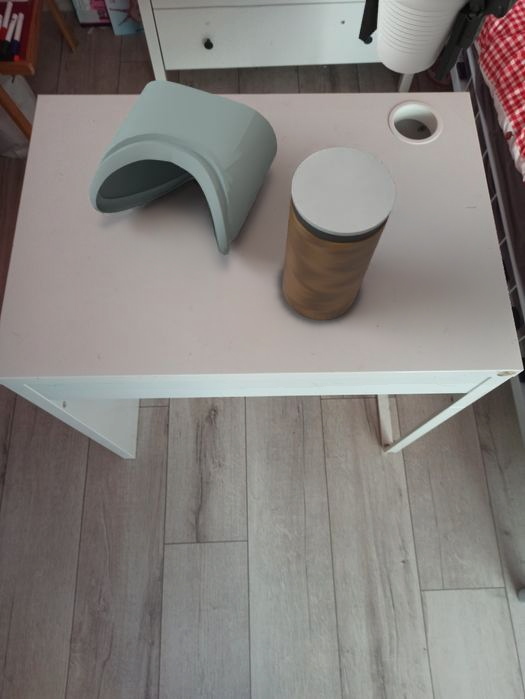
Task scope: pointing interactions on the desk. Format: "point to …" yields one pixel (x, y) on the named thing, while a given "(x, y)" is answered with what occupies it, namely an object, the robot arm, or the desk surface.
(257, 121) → the sage-green arched shell
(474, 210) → the desk surface
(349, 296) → the plinth
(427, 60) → the cup
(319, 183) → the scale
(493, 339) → the desk surface
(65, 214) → the desk surface
